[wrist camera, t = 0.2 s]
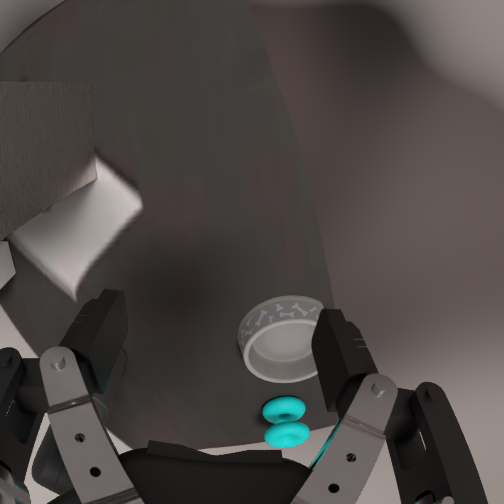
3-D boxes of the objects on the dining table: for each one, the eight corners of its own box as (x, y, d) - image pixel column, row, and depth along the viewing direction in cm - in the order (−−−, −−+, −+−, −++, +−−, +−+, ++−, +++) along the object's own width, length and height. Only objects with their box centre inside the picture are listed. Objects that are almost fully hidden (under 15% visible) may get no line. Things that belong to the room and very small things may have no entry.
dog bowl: (270, 377, 58) (273, 397, 53) (219, 322, 51) (217, 344, 46) (345, 343, 54) (353, 362, 50) (307, 277, 47) (314, 296, 42)
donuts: (276, 428, 51) (319, 432, 53) (272, 390, 60) (311, 396, 62) (257, 447, 55) (297, 450, 57) (255, 412, 64) (292, 418, 66)
